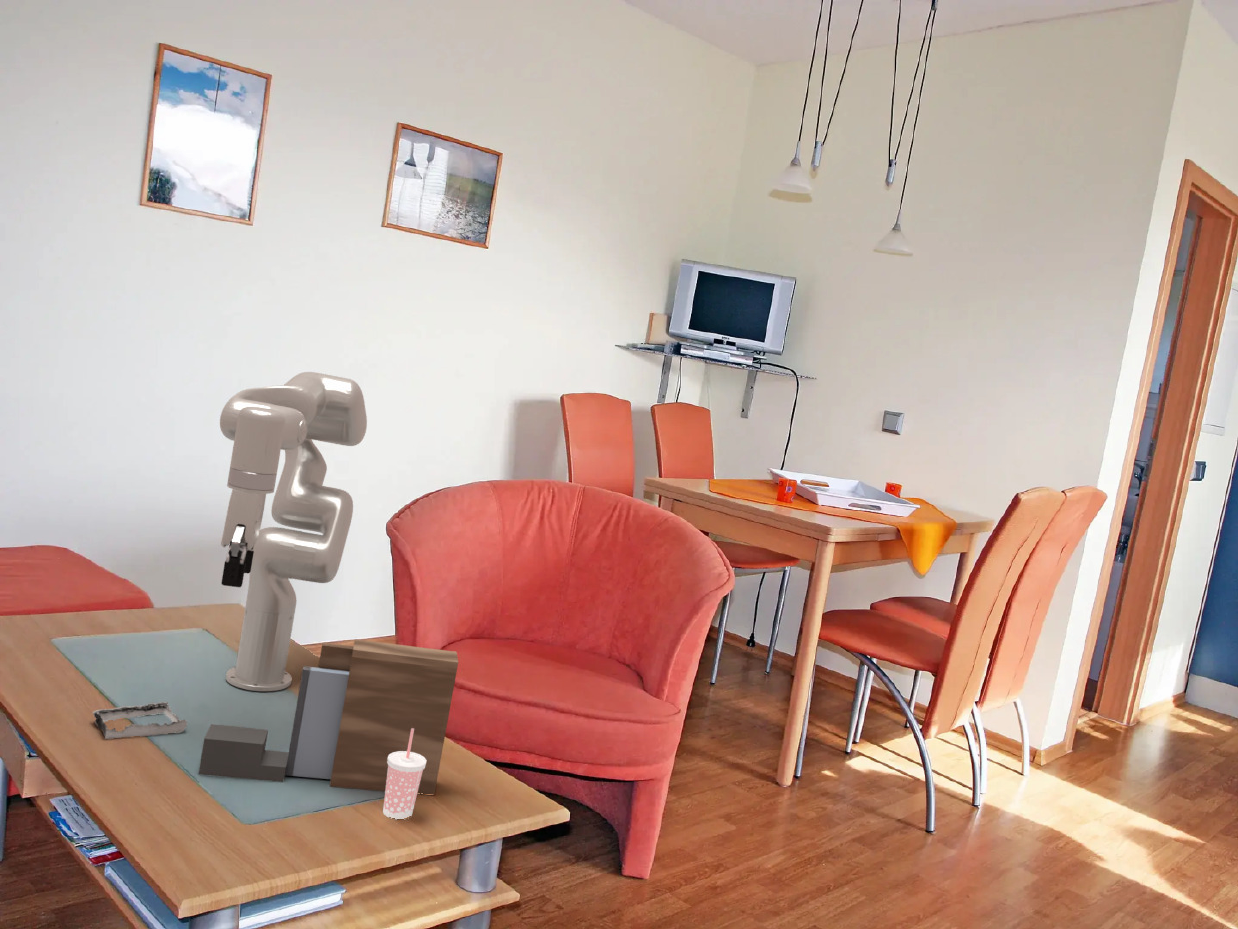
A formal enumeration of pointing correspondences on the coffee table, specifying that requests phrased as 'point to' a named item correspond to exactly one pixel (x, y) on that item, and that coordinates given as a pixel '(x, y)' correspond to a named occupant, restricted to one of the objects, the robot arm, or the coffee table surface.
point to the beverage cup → (402, 782)
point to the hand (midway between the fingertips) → (236, 578)
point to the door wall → (390, 709)
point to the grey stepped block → (241, 754)
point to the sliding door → (317, 722)
